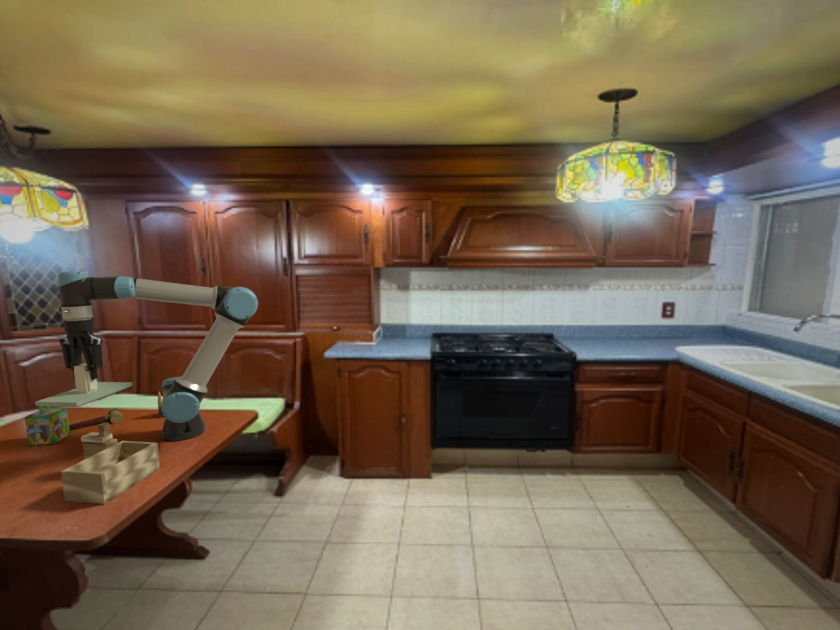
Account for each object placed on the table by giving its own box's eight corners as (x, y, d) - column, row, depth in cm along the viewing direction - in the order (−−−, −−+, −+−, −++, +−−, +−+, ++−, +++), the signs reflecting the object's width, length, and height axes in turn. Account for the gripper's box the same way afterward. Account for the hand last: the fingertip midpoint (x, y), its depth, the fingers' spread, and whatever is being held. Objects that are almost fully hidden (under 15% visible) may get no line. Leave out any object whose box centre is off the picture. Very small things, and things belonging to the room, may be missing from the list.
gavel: (58, 429, 159) (57, 422, 166) (60, 439, 159) (59, 432, 167) (122, 412, 173) (119, 406, 180) (124, 422, 174) (121, 415, 181)
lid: (97, 387, 144) (93, 357, 142) (132, 388, 142) (129, 357, 141) (36, 408, 123) (31, 373, 122) (77, 409, 122) (72, 373, 120)
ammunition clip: (185, 411, 185) (183, 386, 184) (186, 412, 184) (184, 387, 182) (158, 417, 178) (156, 391, 176) (159, 418, 177) (156, 392, 175)
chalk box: (54, 444, 151) (50, 407, 150) (27, 446, 150) (21, 408, 148) (71, 434, 160) (67, 399, 159) (45, 436, 159) (41, 400, 157)
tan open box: (100, 464, 135) (96, 436, 134) (159, 468, 132) (157, 439, 131) (36, 498, 116) (31, 465, 114) (104, 504, 112) (100, 470, 111)
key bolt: (91, 437, 133) (89, 420, 132) (112, 438, 132) (110, 421, 131) (81, 441, 129) (79, 425, 129) (103, 442, 128) (101, 426, 128)
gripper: (43, 320, 127) (52, 392, 130) (91, 320, 125) (100, 392, 128) (66, 317, 134) (74, 385, 137) (111, 317, 132) (119, 385, 135)
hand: (87, 388), depth 132 cm, fingers closed on lid, 4 cm apart
